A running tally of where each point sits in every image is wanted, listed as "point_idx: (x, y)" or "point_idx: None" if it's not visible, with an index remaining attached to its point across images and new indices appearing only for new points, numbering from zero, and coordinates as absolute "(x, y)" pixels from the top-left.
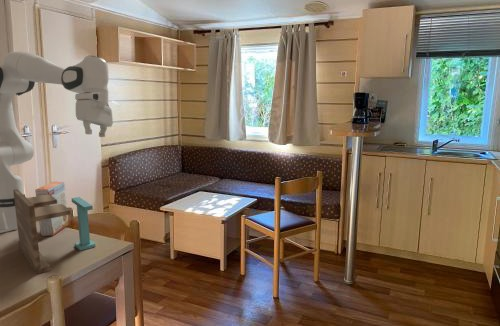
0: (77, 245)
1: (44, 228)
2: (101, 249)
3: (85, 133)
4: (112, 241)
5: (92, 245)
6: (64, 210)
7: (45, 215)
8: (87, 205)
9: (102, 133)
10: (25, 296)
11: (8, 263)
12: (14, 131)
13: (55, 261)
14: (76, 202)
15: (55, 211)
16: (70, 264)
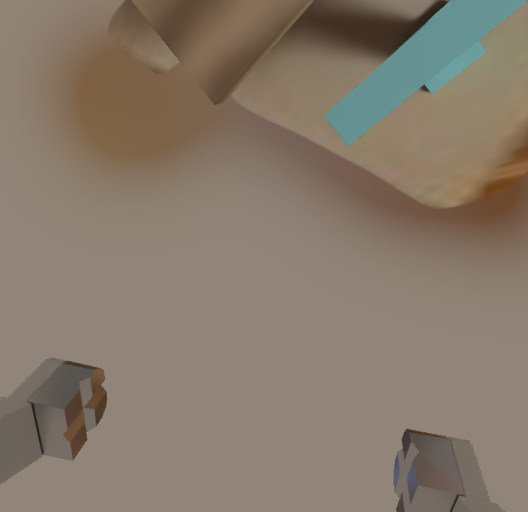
0: (421, 27)
1: None
2: (404, 125)
3: (50, 359)
4: (482, 140)
5: (425, 85)
6: (210, 78)
7: (153, 25)
8: (351, 120)
9: (400, 509)
10: (138, 49)
11: None
12: None
13: (311, 6)
14: (432, 18)
15: (194, 43)
16: (292, 71)
